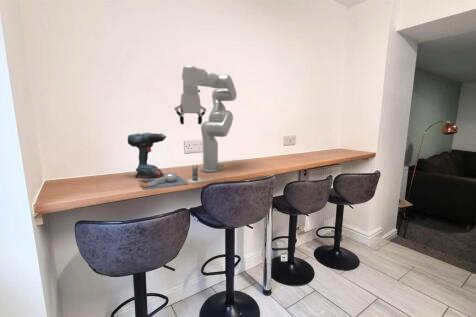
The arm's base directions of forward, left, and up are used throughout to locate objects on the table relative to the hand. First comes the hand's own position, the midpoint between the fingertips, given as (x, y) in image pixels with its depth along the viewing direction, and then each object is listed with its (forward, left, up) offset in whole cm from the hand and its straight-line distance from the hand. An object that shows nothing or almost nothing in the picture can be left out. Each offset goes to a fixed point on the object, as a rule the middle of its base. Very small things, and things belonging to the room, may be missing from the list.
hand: (191, 124), depth 128 cm
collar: (+18, +2, -30) cm, 35 cm away
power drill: (+19, -16, -30) cm, 39 cm away
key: (0, +5, -30) cm, 30 cm away
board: (+16, 0, -30) cm, 34 cm away
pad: (0, +5, -30) cm, 31 cm away
